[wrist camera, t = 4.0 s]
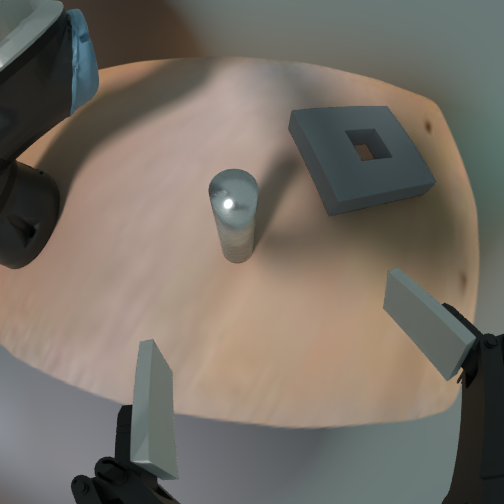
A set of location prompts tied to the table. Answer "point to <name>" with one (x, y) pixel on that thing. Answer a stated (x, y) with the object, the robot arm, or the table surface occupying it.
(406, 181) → the hole block
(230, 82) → the table surface
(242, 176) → the peg
